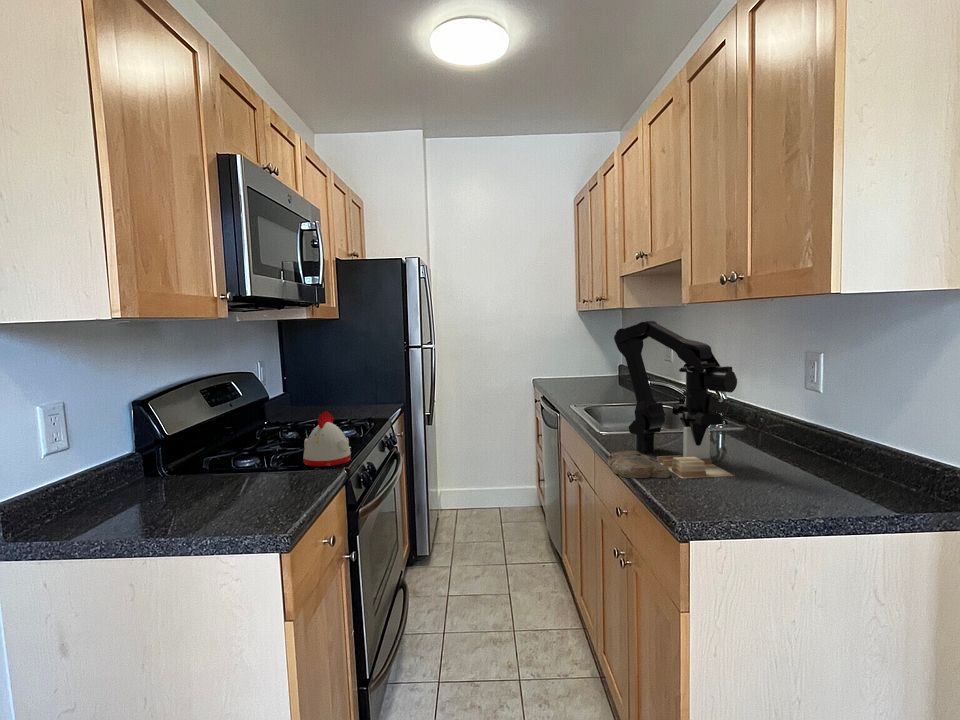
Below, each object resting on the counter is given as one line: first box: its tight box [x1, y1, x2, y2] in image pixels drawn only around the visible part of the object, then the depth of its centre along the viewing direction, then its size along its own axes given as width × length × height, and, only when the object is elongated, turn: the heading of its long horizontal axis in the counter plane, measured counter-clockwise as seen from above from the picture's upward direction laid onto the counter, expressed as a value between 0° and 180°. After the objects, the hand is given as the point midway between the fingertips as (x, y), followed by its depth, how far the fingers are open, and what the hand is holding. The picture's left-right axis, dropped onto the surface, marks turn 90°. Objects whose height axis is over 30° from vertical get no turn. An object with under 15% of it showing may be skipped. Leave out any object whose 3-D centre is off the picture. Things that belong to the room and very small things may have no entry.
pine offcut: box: [673, 457, 704, 467], centre depth 142 cm, size 5×6×1 cm
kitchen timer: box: [303, 411, 352, 467], centre depth 166 cm, size 14×14×15 cm
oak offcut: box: [672, 462, 705, 472], centre depth 142 cm, size 6×6×1 cm
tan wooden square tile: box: [672, 466, 706, 478], centre depth 142 cm, size 6×6×1 cm
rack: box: [656, 454, 735, 479], centre depth 147 cm, size 18×14×2 cm
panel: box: [682, 426, 711, 459], centre depth 152 cm, size 2×7×9 cm, turn 94°
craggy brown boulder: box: [606, 450, 671, 479], centre depth 148 cm, size 14×5×20 cm
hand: (696, 444), depth 152 cm, fingers closed on panel, 2 cm apart
